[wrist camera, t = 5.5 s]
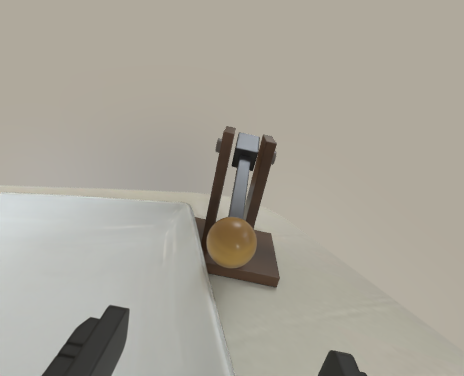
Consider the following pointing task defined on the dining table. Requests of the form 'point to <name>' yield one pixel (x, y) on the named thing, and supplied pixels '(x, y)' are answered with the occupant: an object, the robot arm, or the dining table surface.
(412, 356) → the dining table surface
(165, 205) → the square plate
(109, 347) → the robot arm
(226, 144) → the latch bracket
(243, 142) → the lever
